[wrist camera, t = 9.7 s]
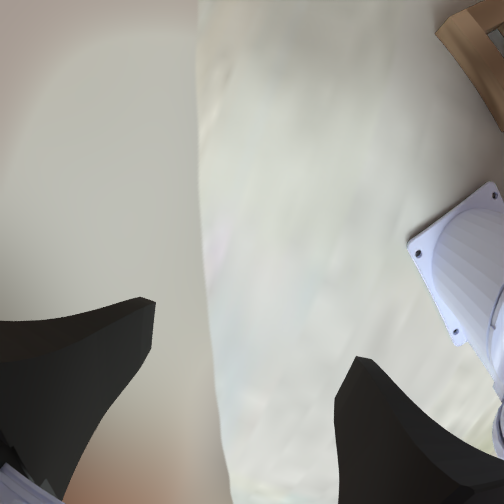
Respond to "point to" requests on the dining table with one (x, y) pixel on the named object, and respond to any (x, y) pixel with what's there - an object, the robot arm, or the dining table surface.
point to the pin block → (479, 51)
